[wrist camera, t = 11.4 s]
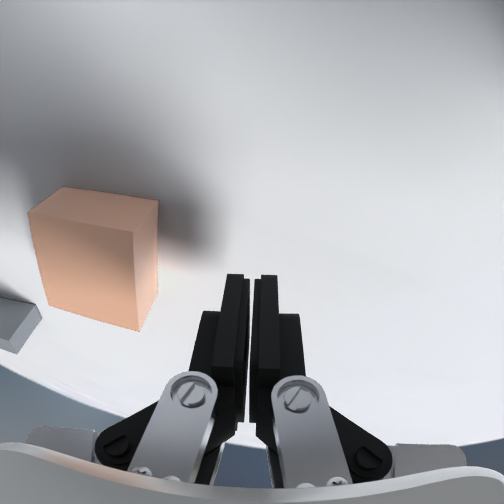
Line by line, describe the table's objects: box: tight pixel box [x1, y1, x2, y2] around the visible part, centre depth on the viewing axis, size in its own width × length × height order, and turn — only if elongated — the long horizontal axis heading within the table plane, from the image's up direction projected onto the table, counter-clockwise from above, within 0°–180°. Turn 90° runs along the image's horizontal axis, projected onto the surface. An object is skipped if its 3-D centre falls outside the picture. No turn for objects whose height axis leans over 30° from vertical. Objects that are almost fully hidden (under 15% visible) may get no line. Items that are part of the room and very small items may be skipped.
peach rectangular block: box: [28, 187, 159, 332], centre depth 13 cm, size 5×5×3 cm
